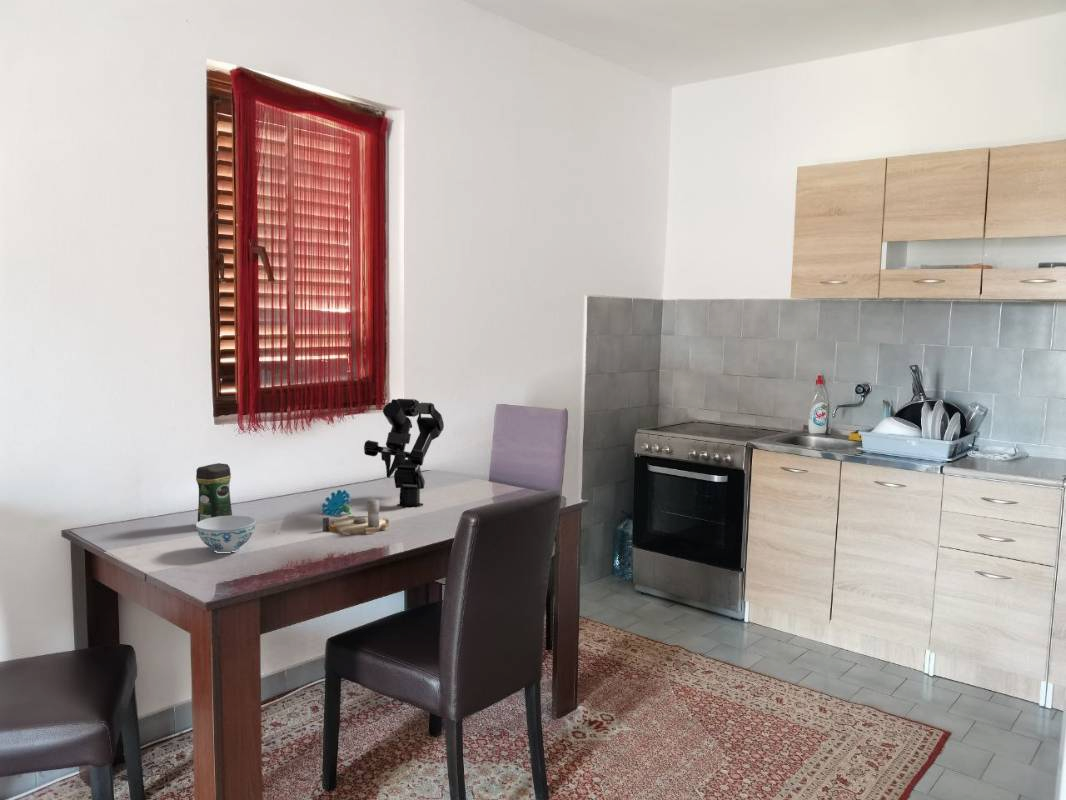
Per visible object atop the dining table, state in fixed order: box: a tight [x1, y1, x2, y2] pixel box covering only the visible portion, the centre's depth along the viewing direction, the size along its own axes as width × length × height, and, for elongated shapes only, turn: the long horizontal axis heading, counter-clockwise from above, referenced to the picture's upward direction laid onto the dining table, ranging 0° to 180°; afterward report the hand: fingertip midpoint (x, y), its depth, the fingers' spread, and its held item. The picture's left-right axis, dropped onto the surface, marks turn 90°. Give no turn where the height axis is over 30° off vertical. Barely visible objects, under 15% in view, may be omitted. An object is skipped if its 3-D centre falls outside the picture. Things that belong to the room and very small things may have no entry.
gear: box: [321, 489, 353, 517], centre depth 259 cm, size 11×6×10 cm
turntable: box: [329, 498, 390, 536], centre depth 241 cm, size 17×17×9 cm
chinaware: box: [195, 515, 257, 552], centre depth 217 cm, size 15×15×8 cm
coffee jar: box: [195, 462, 233, 522], centre depth 242 cm, size 10×8×19 cm
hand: (387, 477), depth 253 cm, fingers closed
